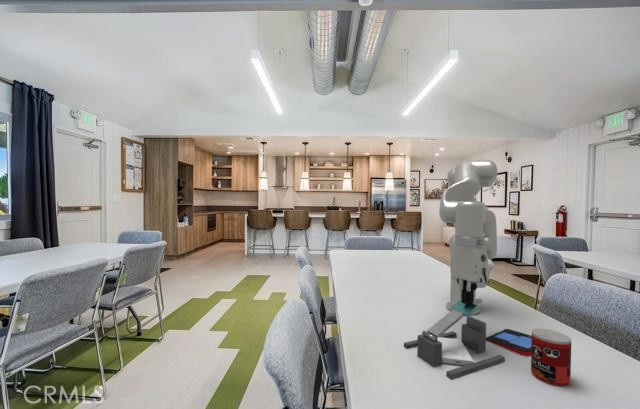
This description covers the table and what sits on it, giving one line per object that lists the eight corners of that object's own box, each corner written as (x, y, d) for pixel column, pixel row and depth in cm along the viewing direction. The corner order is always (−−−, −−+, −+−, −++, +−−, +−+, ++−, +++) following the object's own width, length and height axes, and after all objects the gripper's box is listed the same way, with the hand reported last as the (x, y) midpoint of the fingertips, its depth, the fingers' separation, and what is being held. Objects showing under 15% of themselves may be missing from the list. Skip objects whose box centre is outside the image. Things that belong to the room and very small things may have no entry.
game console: (506, 331, 100) (506, 325, 100) (549, 347, 89) (549, 340, 89) (483, 341, 93) (483, 334, 93) (527, 359, 82) (528, 352, 82)
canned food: (523, 369, 76) (524, 328, 76) (551, 368, 77) (551, 327, 77) (548, 387, 69) (549, 342, 69) (579, 386, 69) (580, 341, 69)
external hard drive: (461, 344, 89) (474, 366, 77) (433, 341, 90) (442, 362, 78) (461, 339, 89) (474, 360, 77) (433, 336, 90) (442, 357, 78)
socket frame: (452, 334, 96) (453, 309, 96) (504, 361, 80) (505, 331, 80) (403, 346, 87) (404, 318, 87) (451, 379, 71) (451, 345, 71)
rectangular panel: (462, 302, 89) (461, 299, 89) (478, 308, 84) (477, 305, 84) (421, 334, 82) (420, 331, 82) (436, 343, 77) (435, 340, 77)
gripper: (501, 245, 80) (500, 310, 80) (456, 238, 94) (455, 294, 94) (483, 246, 77) (482, 313, 77) (439, 239, 91) (438, 297, 91)
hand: (467, 302), depth 86 cm, fingers closed
